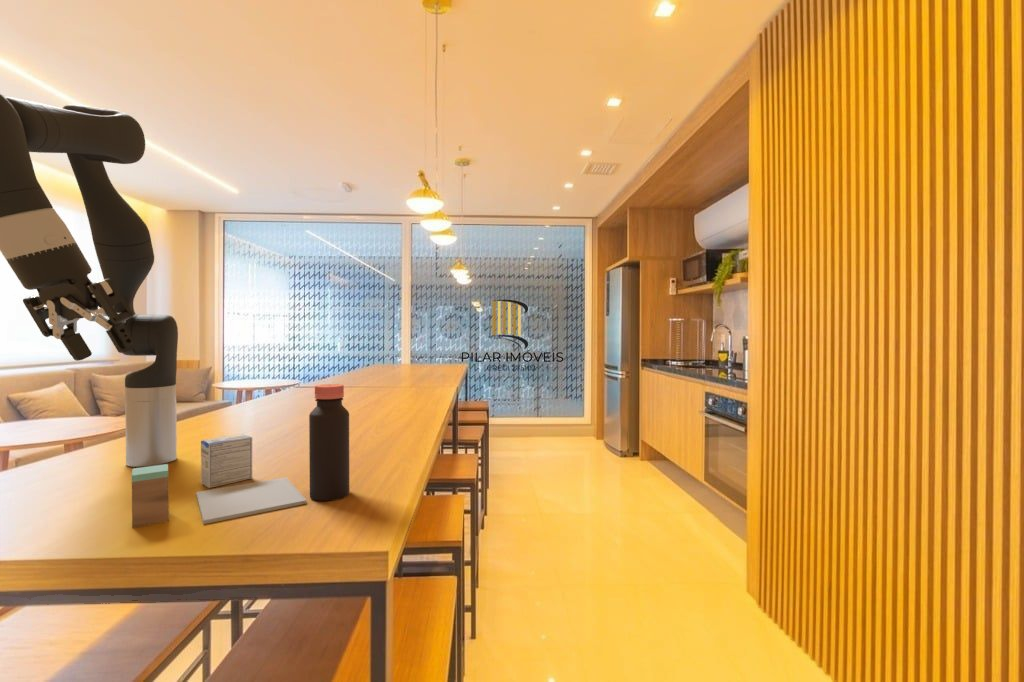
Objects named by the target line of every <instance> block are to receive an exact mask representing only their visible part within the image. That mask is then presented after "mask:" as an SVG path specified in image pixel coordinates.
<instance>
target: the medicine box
mask: <svg viewBox="0 0 1024 682" xmlns="http://www.w3.org/2000/svg"><path fill="white" fill-rule="evenodd" d="M200 462H201V463H200V471H201V474H200V475H201V477H200V478H201V479H200V480H201V484H202V485H204V487H207V488H208V489H211V488H215V487H216V488H217V487H220V486H224V485H230V484H233V483H237V482H241V481H247V480H251V479H253V437H252V436H250V435H248V434H245V433H238V434H233V435H232V434H231V435H226V436H221V437H220V436H219V437H212V438H209V439H208V438H207V439H202V440H201V441H200Z"/></svg>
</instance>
